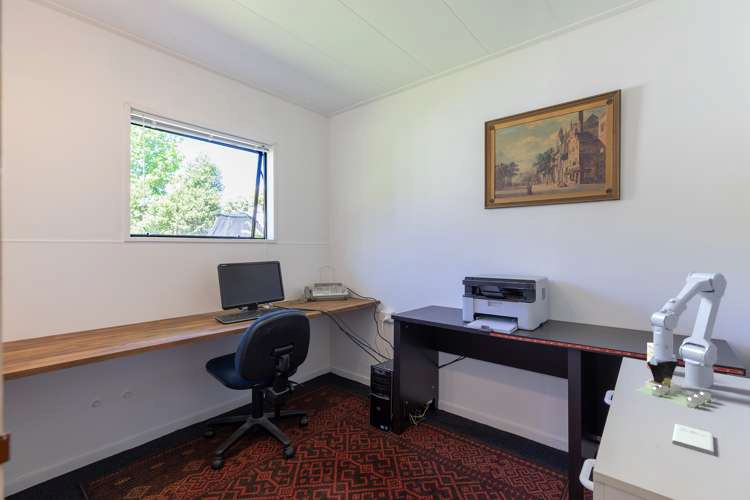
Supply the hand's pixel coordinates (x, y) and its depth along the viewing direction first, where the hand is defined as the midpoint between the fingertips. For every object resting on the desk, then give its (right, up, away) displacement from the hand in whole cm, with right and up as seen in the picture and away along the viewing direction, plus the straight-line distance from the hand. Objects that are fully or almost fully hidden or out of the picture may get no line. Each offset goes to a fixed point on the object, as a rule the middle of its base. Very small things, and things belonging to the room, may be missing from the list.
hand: (662, 381), depth 132 cm
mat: (-1, -3, -6) cm, 7 cm away
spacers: (-1, -3, -9) cm, 10 cm away
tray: (0, -3, 0) cm, 3 cm away
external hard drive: (-20, -4, -35) cm, 40 cm away
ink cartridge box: (+14, -4, +19) cm, 24 cm away
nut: (0, -2, 0) cm, 2 cm away
